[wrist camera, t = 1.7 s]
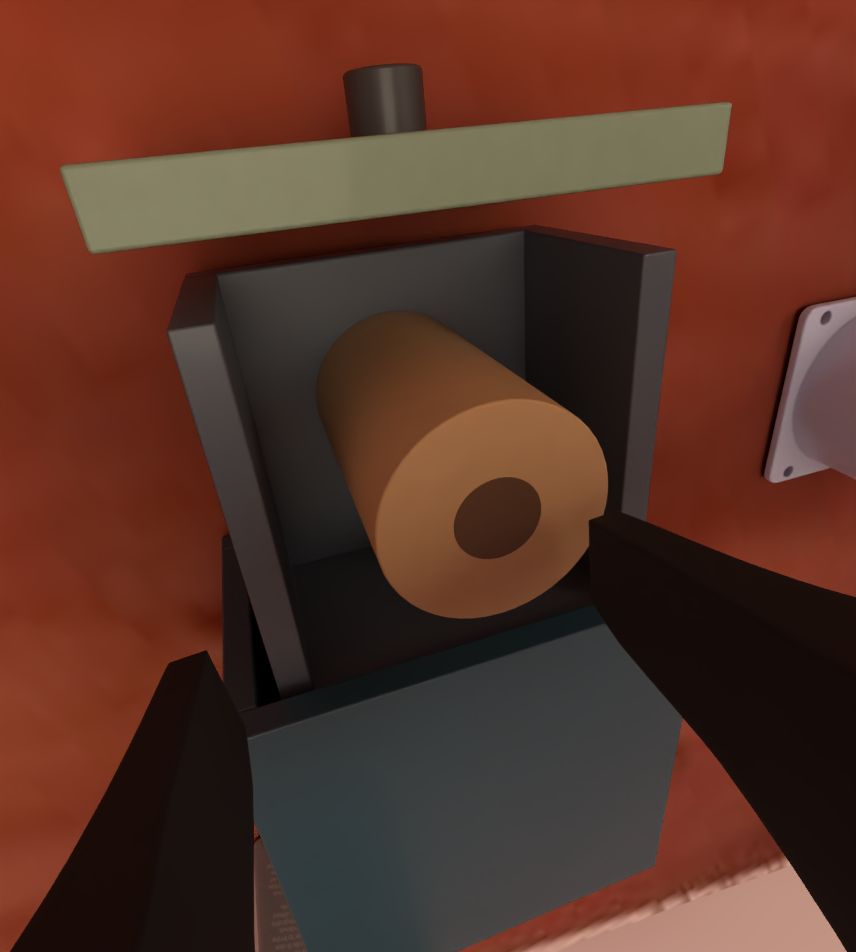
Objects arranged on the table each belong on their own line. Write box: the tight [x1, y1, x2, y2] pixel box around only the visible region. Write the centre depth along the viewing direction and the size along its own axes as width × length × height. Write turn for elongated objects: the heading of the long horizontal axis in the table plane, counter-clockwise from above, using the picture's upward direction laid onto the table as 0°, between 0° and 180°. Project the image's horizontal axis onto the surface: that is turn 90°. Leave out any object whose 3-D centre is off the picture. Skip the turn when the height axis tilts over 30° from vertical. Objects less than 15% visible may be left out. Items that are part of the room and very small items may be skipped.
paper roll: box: [316, 311, 608, 619], centre depth 14 cm, size 5×5×8 cm
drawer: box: [60, 64, 731, 700], centre depth 15 cm, size 14×11×7 cm
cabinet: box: [222, 536, 683, 952], centre depth 21 cm, size 14×13×9 cm
